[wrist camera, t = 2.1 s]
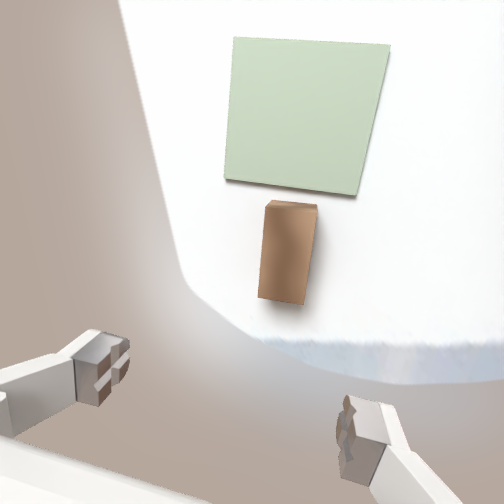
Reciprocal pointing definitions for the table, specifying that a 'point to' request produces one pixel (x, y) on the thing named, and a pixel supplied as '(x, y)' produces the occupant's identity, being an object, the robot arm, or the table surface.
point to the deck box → (286, 250)
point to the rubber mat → (302, 111)
